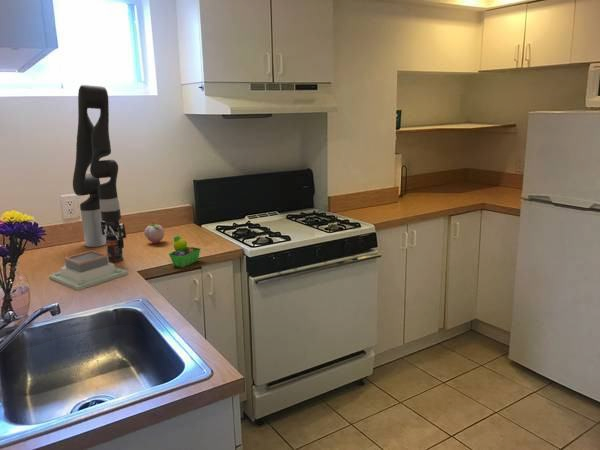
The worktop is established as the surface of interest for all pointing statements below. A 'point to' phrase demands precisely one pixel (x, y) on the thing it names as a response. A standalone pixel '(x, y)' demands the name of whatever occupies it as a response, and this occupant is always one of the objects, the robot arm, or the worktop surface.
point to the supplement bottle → (113, 249)
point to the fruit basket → (183, 253)
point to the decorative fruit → (154, 233)
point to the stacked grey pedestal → (87, 270)
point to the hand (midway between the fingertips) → (115, 246)
